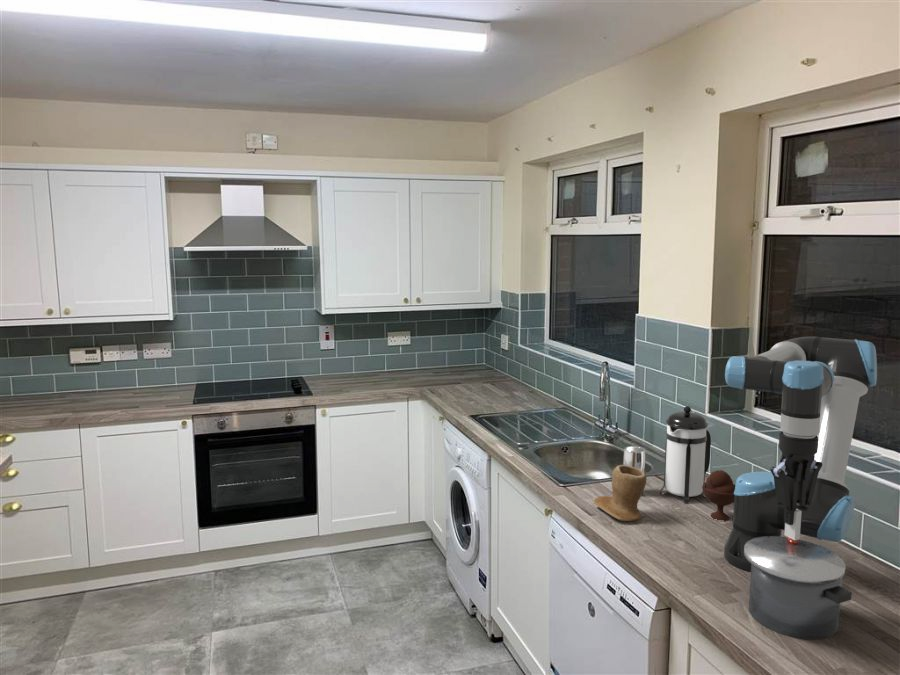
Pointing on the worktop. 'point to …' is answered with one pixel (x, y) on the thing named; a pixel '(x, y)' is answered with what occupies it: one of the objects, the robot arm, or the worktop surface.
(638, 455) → the silver metal cylinder
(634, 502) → the tan flared hollow piece
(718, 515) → the ice cream bowl
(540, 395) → the worktop surface
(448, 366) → the worktop surface
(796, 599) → the pressure cooker pot
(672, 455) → the coffee press
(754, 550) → the pot lid
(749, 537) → the robot arm
